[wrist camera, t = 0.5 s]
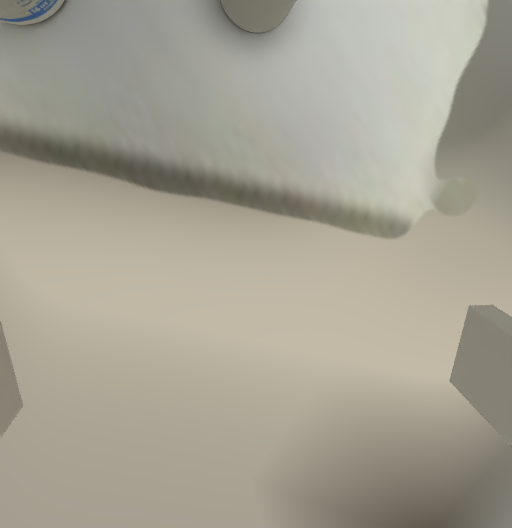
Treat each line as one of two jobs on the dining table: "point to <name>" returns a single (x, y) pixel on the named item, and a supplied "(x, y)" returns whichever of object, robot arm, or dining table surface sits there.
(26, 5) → the supplement tub
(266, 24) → the beverage can
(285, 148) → the dining table surface
